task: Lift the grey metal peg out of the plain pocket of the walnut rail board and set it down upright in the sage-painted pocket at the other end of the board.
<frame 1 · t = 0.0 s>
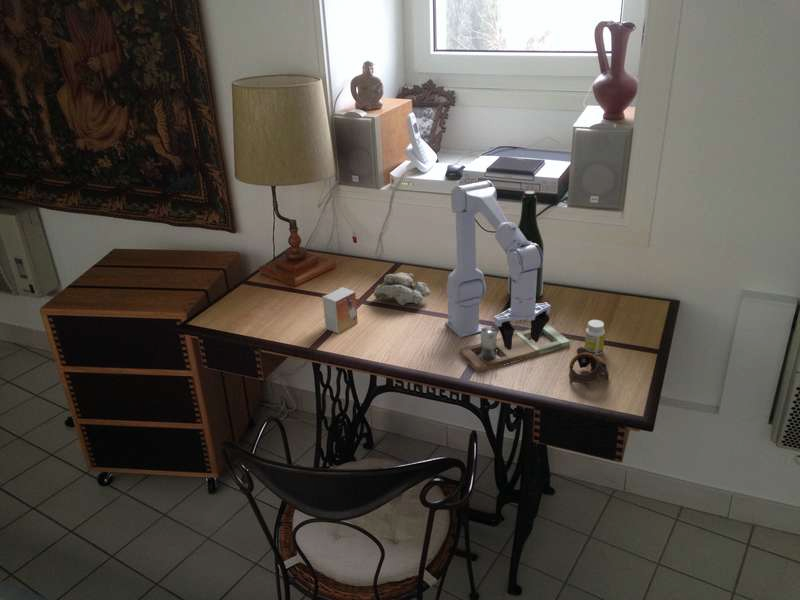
hand: (521, 343, 165), 10 cm above the table, tool pointing down, fingers open, 7 cm apart
beer bottle: (524, 294, 210), on the table
mineral: (403, 301, 210), on the table
supplement bottle: (593, 351, 180), on the table
small box: (342, 326, 198), on the table
pottery mug: (586, 378, 170), on the table
rail board: (514, 349, 182), on the table
peg: (488, 357, 179), resting in rail board
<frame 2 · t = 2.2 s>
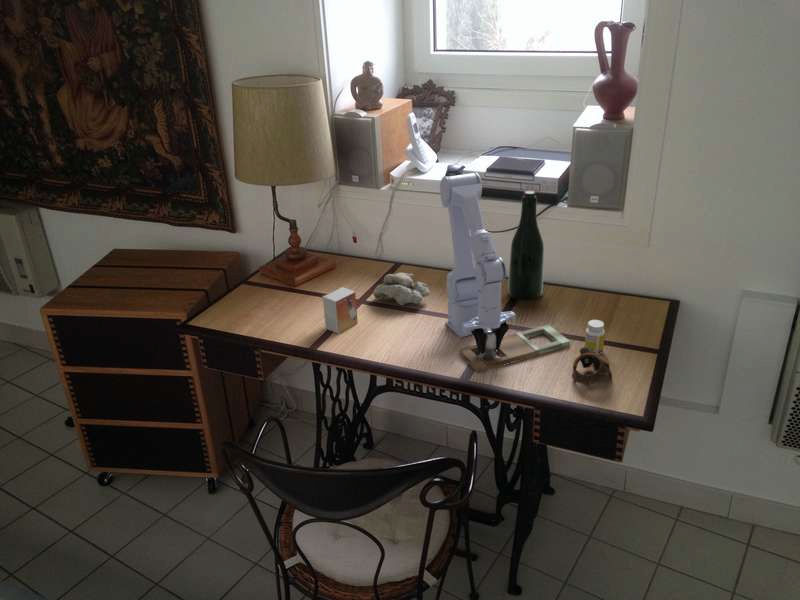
hand: (488, 349, 178), 2 cm above the table, tool pointing down, fingers closed on peg, 4 cm apart
peg: (488, 357, 179), resting in rail board, touching gripper
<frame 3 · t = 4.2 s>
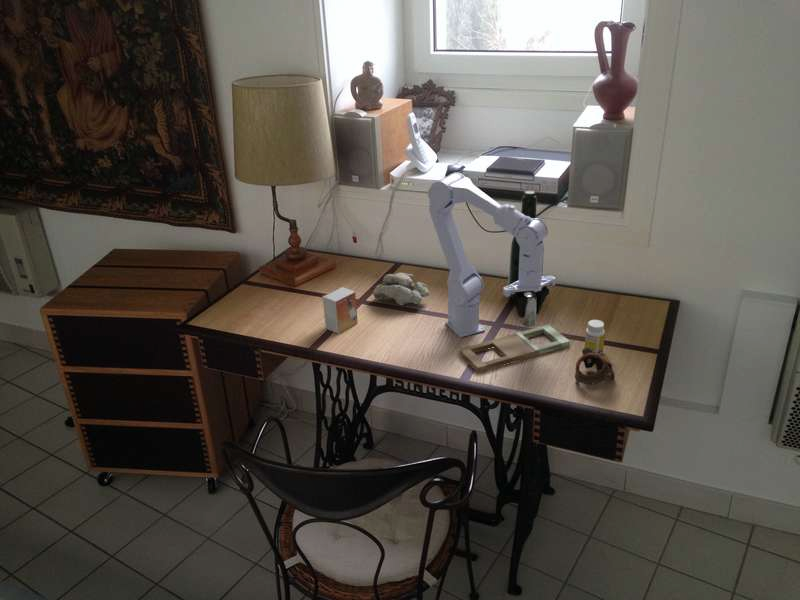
hand: (528, 314, 179), 10 cm above the table, tool pointing down, fingers closed on peg, 4 cm apart
peg: (528, 322, 180), point 7 cm above the table, touching gripper
when the fingers open (3 cm above the table, at t = 6.2 s): peg stays where it is, resting in rail board.
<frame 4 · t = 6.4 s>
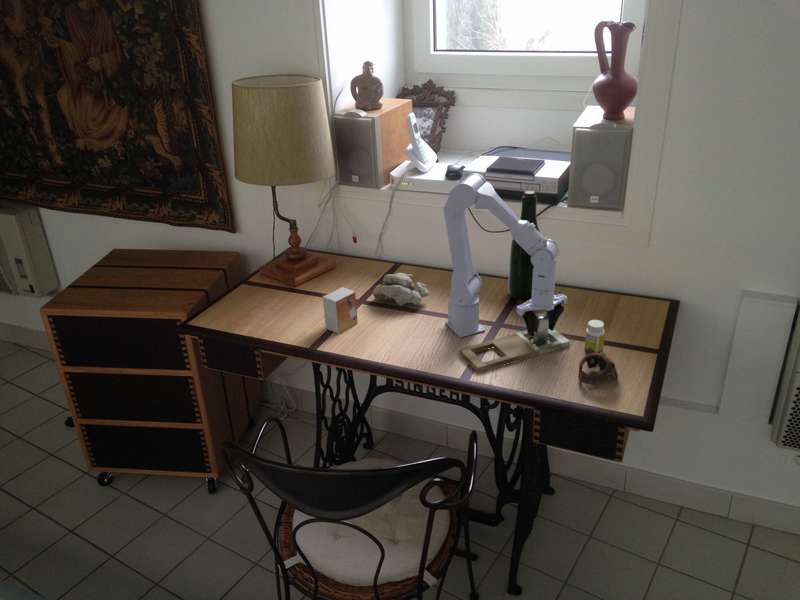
hand: (540, 331, 183), 3 cm above the table, tool pointing down, fingers open, 6 cm apart
peg: (540, 342, 185), resting in rail board
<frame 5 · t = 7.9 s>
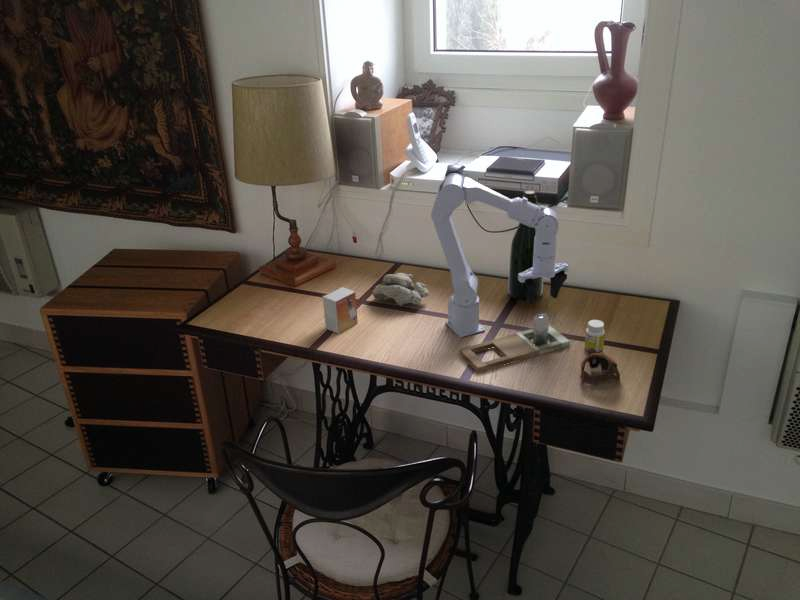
hand: (541, 299, 185), 10 cm above the table, tool pointing down, fingers open, 7 cm apart
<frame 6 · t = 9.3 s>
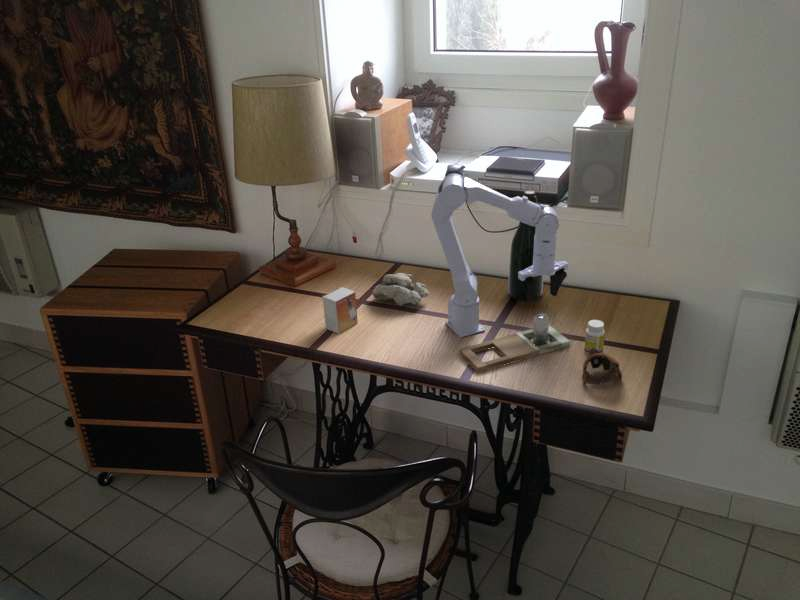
hand: (541, 297, 186), 10 cm above the table, tool pointing down, fingers open, 7 cm apart
at the end: peg 0.1 cm from the target spot, resting in rail board; peg tilted 0°; the gripper is holding nothing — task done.
